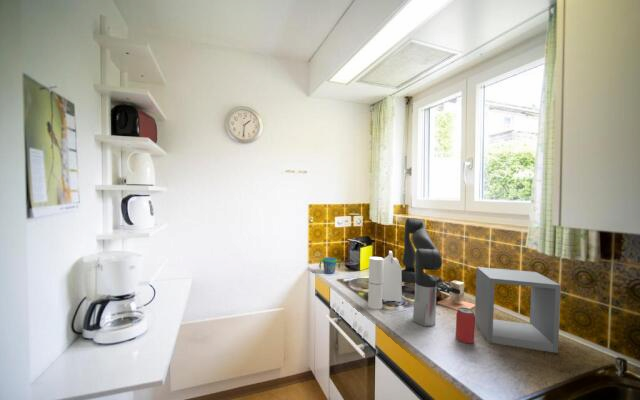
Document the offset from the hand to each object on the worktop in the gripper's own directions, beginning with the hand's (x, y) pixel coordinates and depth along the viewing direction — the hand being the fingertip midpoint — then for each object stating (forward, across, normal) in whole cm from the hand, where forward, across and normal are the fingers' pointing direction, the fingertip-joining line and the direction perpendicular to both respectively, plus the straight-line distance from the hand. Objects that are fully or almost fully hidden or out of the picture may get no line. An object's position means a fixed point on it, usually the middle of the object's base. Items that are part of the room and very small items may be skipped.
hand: (462, 291), depth 139 cm
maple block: (-3, 0, +6) cm, 7 cm away
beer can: (+15, -33, +8) cm, 37 cm away
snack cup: (-84, -20, +9) cm, 87 cm away
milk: (-30, -22, +8) cm, 38 cm away
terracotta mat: (-3, 0, +8) cm, 9 cm away
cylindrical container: (-27, -38, +8) cm, 47 cm away
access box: (+26, -14, +8) cm, 31 cm away
